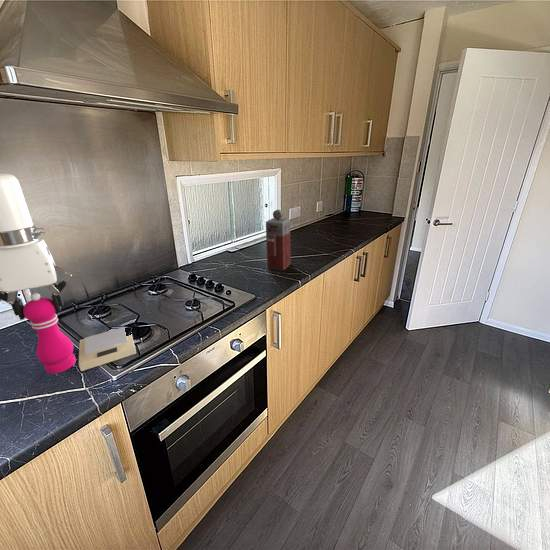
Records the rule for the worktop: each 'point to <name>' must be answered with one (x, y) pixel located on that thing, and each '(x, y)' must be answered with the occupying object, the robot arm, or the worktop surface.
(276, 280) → the worktop surface
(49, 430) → the worktop surface
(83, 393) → the worktop surface
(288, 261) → the red square decanter
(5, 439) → the worktop surface
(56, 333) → the pepper mill
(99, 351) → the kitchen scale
